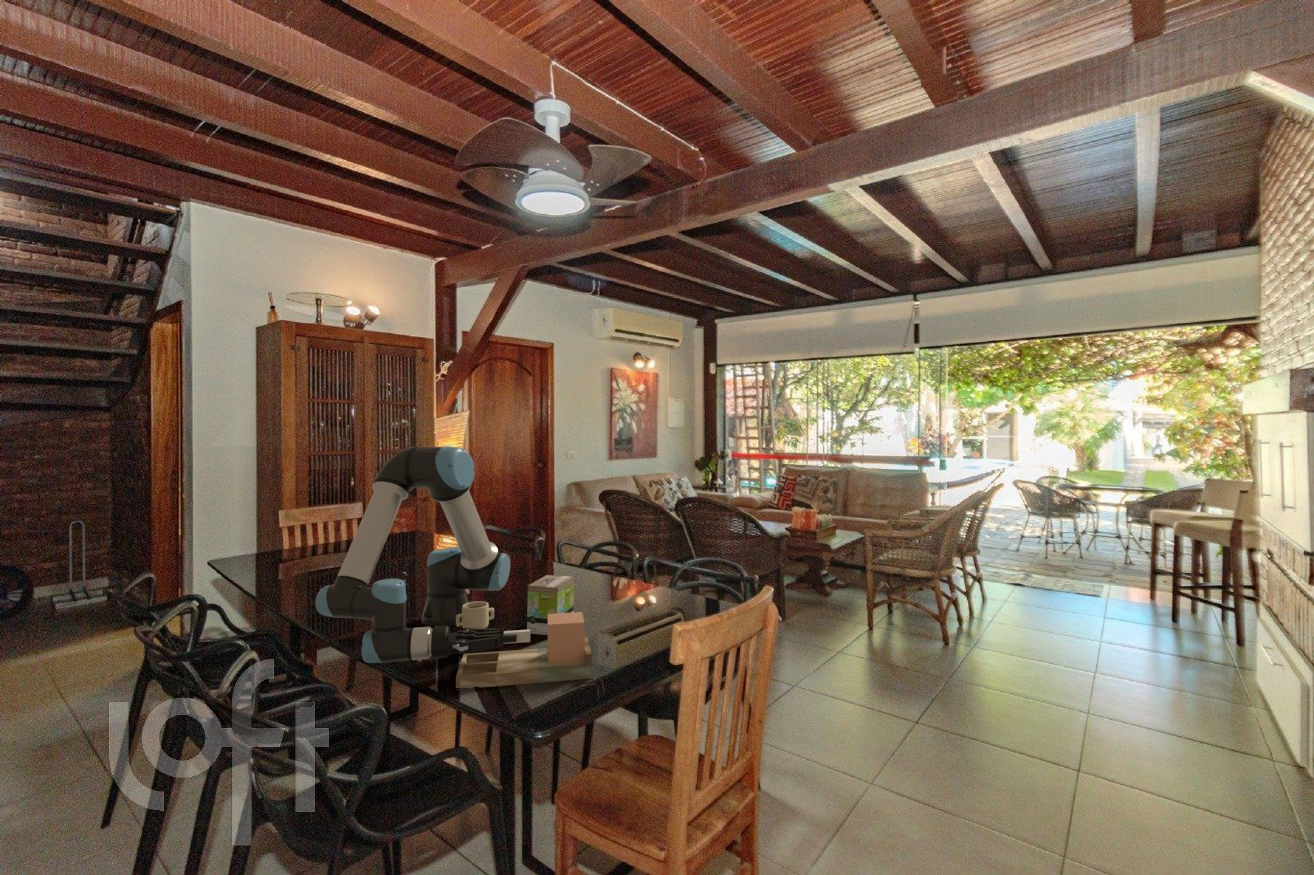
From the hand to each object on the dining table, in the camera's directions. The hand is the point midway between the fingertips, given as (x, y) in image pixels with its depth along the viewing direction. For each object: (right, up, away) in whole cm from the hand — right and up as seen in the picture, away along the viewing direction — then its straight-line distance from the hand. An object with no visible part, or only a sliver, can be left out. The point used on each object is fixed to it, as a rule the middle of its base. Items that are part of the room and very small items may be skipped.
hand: (530, 635), depth 154 cm
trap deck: (-1, -9, 0) cm, 9 cm away
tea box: (-1, -9, +35) cm, 36 cm away
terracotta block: (+9, -6, +2) cm, 11 cm away
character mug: (-18, -9, +14) cm, 25 cm away
